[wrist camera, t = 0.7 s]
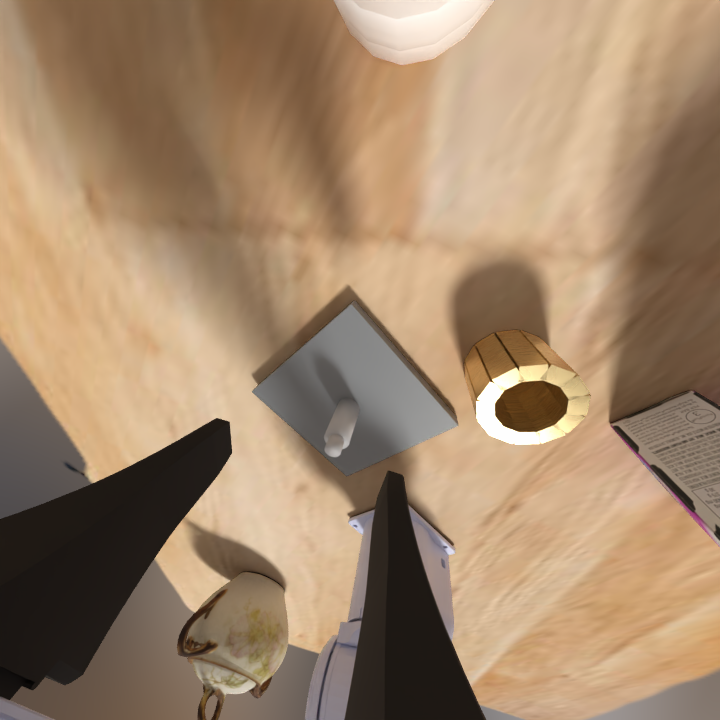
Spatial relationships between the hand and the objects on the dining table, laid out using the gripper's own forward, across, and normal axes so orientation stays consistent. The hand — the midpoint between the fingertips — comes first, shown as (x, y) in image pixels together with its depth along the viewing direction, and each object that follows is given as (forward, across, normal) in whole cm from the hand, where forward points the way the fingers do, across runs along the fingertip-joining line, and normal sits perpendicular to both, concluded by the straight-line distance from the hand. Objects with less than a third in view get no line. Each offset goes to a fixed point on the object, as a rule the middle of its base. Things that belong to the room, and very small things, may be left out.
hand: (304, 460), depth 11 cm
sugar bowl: (+10, +7, +49) cm, 50 cm away
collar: (+10, -10, -3) cm, 14 cm away
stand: (+10, -1, +4) cm, 10 cm away
